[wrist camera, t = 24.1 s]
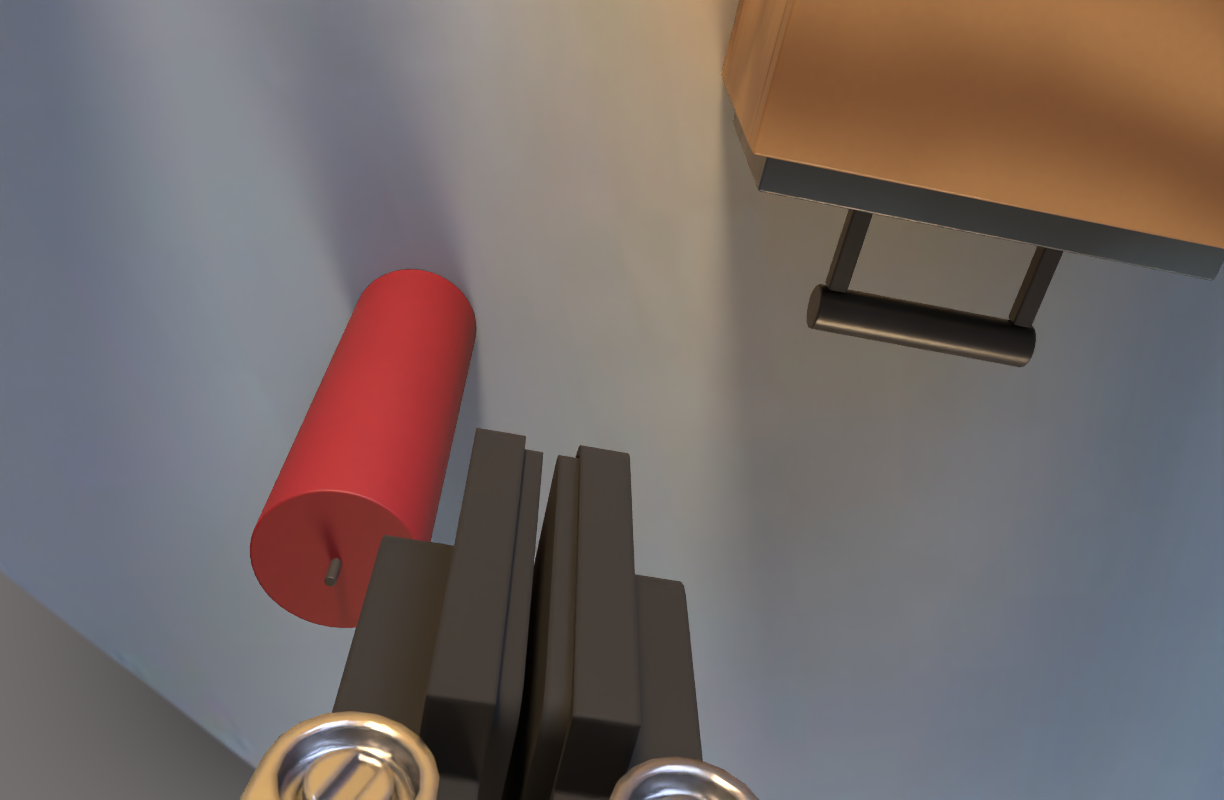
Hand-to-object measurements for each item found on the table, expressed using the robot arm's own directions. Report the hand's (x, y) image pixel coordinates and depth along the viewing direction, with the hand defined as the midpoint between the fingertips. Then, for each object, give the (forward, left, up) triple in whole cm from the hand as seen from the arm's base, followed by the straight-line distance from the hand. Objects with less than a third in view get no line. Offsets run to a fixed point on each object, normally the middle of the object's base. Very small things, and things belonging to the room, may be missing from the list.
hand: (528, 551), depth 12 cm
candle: (-9, -8, -27) cm, 30 cm away
